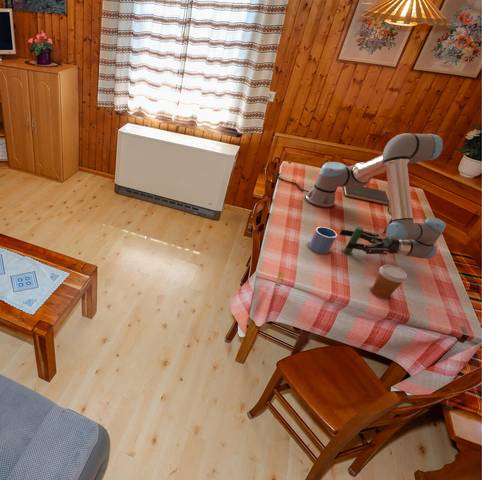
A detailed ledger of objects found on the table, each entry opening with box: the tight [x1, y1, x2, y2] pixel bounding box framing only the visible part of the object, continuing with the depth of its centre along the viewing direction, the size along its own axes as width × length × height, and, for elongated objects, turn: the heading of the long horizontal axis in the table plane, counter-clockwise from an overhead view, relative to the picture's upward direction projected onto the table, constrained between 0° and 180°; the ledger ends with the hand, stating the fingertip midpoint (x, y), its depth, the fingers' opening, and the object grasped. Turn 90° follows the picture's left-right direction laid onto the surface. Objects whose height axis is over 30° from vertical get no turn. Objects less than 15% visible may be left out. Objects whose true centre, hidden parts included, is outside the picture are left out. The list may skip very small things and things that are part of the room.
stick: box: [343, 226, 365, 255], centre depth 176 cm, size 3×3×14 cm
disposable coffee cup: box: [371, 264, 408, 299], centre depth 154 cm, size 10×10×12 cm
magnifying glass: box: [382, 204, 392, 236], centre depth 189 cm, size 9×2×20 cm, turn 63°
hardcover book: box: [342, 186, 390, 206], centre depth 231 cm, size 16×23×2 cm
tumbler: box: [308, 226, 338, 255], centre depth 179 cm, size 9×9×10 cm
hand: (344, 238), depth 176 cm, fingers open, 10 cm apart
